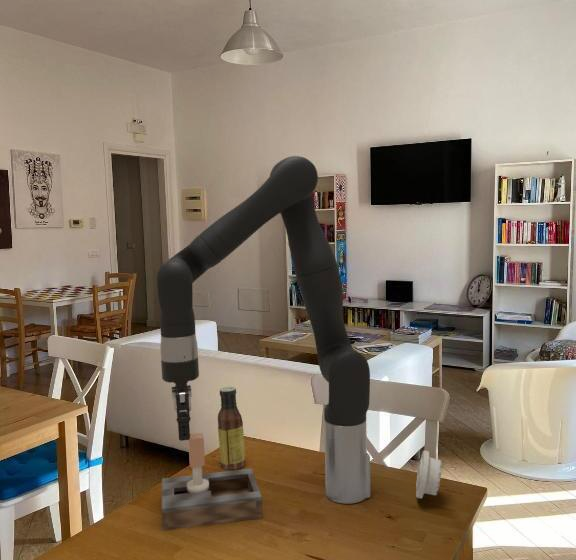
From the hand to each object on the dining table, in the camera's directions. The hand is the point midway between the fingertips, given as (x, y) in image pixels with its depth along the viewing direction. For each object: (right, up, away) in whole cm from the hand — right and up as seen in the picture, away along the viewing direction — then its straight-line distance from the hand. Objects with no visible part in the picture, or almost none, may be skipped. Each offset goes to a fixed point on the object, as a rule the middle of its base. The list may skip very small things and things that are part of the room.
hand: (183, 432), depth 119 cm
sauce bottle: (+8, -15, +24) cm, 29 cm away
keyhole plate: (+5, -17, +3) cm, 18 cm away
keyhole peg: (+3, -12, +2) cm, 13 cm away
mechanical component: (+52, -16, +6) cm, 54 cm away
